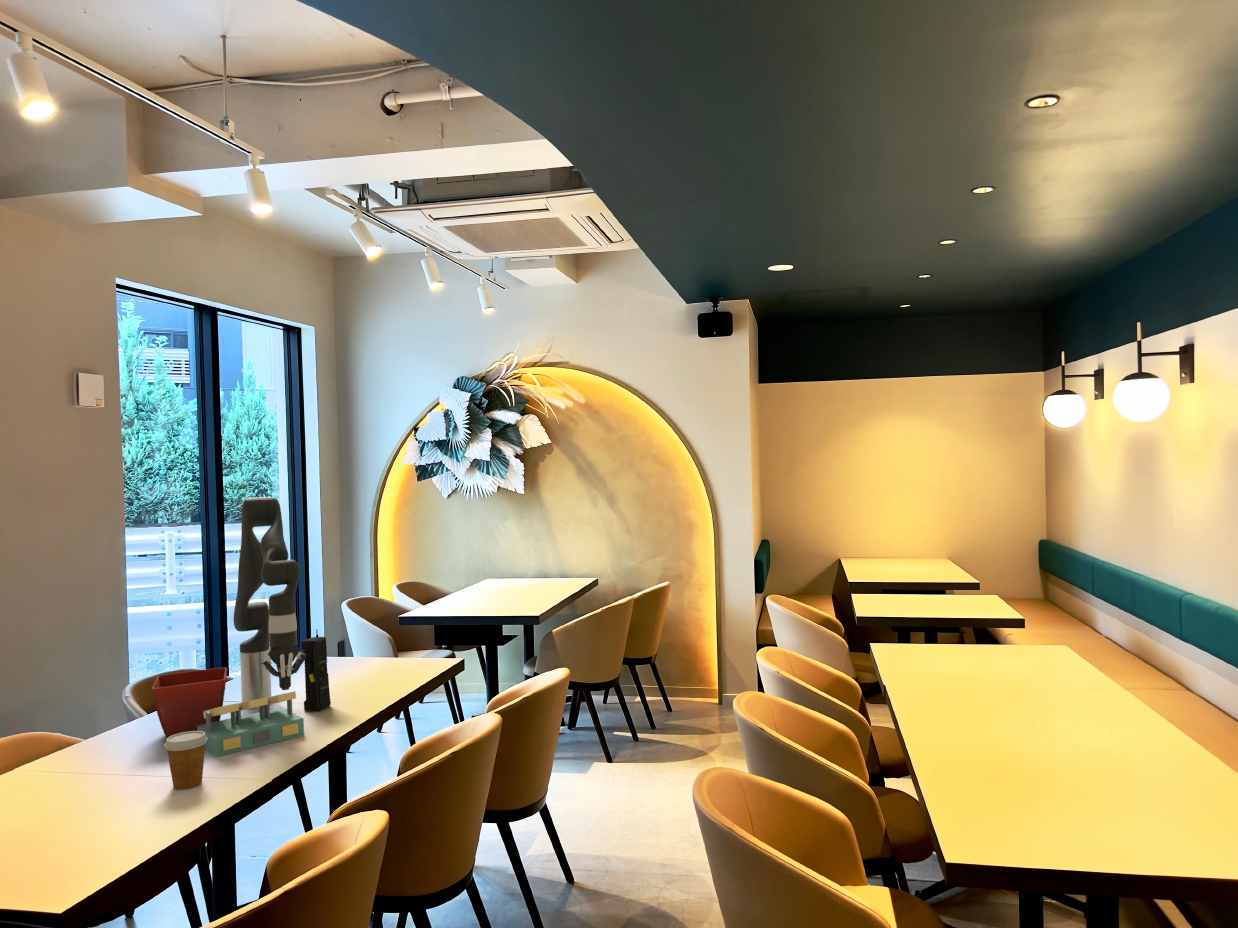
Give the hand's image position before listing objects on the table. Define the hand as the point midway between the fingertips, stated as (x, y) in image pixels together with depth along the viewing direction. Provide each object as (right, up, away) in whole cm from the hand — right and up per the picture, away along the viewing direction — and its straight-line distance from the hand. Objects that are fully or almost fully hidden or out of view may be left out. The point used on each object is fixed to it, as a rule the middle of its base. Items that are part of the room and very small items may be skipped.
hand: (285, 689), depth 247 cm
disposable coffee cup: (-10, -14, -36) cm, 40 cm away
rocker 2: (-10, -5, -1) cm, 11 cm away
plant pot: (-30, -15, +7) cm, 35 cm away
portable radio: (-1, -14, +28) cm, 32 cm away
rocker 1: (-16, -4, -6) cm, 18 cm away
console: (-9, -14, -1) cm, 17 cm away
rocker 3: (-4, -4, +4) cm, 7 cm away
